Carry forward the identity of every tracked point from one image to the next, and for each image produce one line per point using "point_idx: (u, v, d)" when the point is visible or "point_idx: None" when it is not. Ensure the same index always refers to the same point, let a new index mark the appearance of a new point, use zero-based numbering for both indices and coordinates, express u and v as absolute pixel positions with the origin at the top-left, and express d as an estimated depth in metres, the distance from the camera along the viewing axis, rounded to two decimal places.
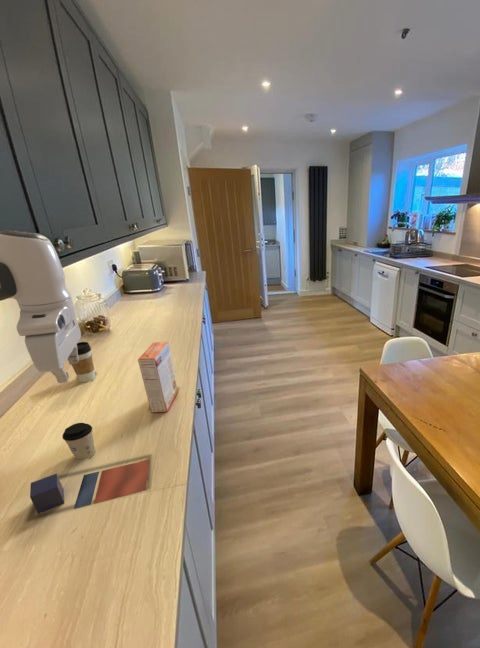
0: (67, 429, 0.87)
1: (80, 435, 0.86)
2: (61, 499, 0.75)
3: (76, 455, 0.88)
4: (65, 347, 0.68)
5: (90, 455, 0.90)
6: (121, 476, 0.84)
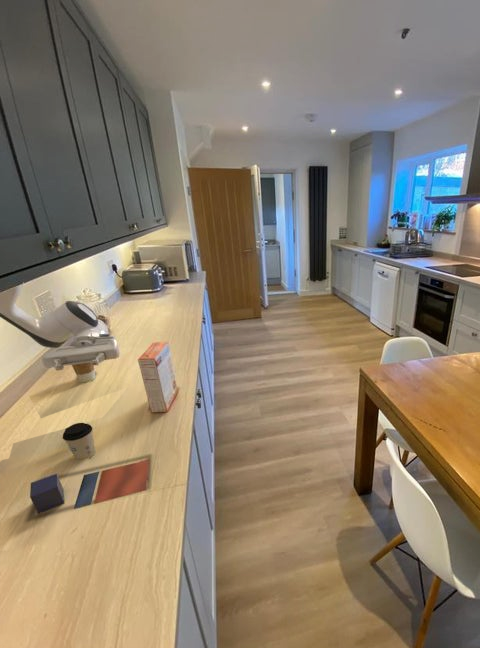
0: (67, 429, 0.87)
1: (80, 435, 0.86)
2: (61, 499, 0.75)
3: (76, 455, 0.88)
4: None
5: (90, 455, 0.90)
6: (121, 476, 0.84)
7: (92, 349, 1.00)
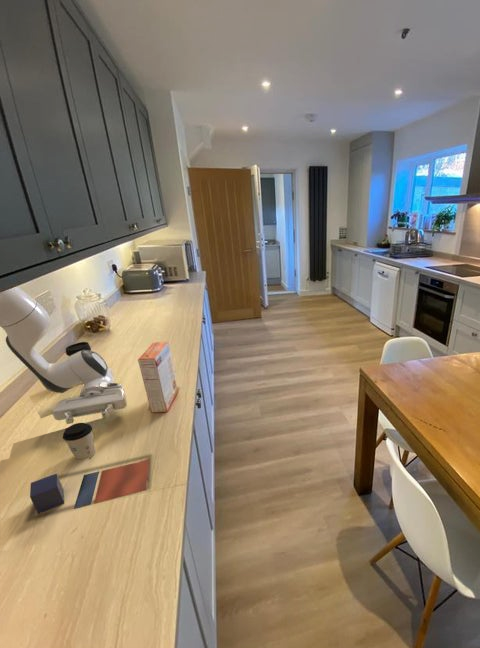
0: (67, 429, 0.87)
1: (80, 435, 0.86)
2: (61, 499, 0.75)
3: (76, 455, 0.88)
4: None
5: (90, 455, 0.90)
6: (121, 476, 0.84)
7: (101, 400, 1.03)
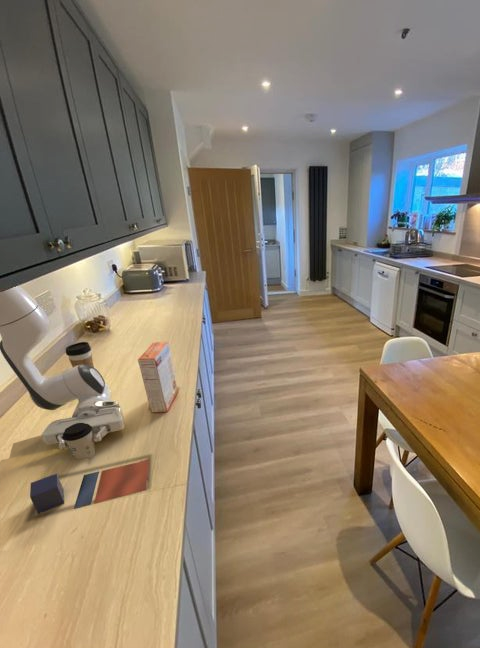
0: (67, 429, 0.87)
1: (80, 435, 0.86)
2: (61, 499, 0.75)
3: (76, 455, 0.88)
4: None
5: (90, 455, 0.90)
6: (121, 476, 0.84)
7: (96, 422, 0.94)
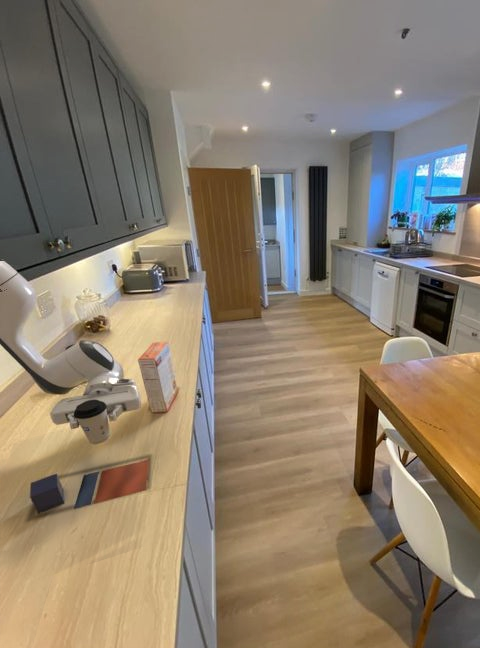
0: (79, 406, 0.77)
1: (94, 413, 0.76)
2: (61, 499, 0.75)
3: (89, 436, 0.78)
4: None
5: (104, 436, 0.80)
6: (121, 476, 0.84)
7: (110, 400, 0.84)
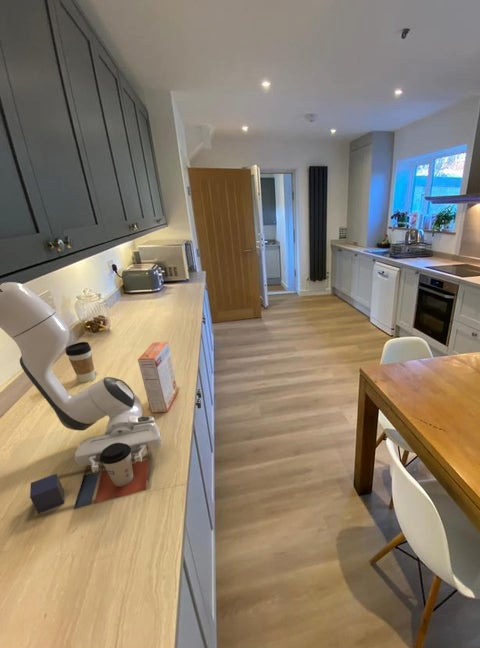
0: (105, 450, 0.79)
1: (120, 457, 0.78)
2: (61, 499, 0.75)
3: (114, 479, 0.80)
4: None
5: (128, 478, 0.82)
6: None
7: (132, 440, 0.86)
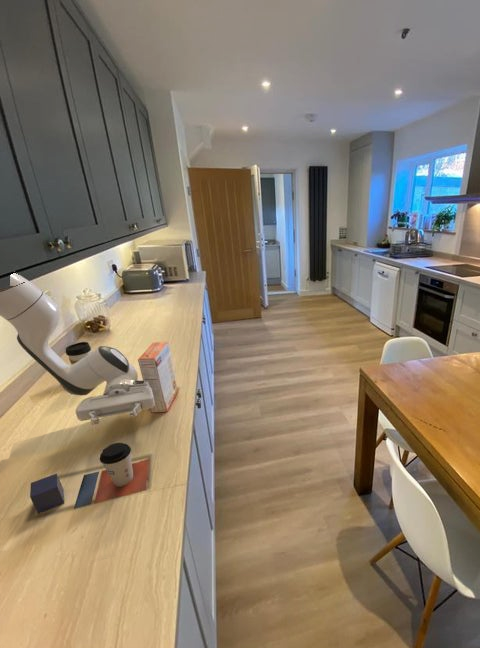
0: (104, 450, 0.79)
1: (120, 457, 0.78)
2: (61, 499, 0.75)
3: (114, 479, 0.80)
4: None
5: (128, 478, 0.82)
6: None
7: (128, 399, 0.95)
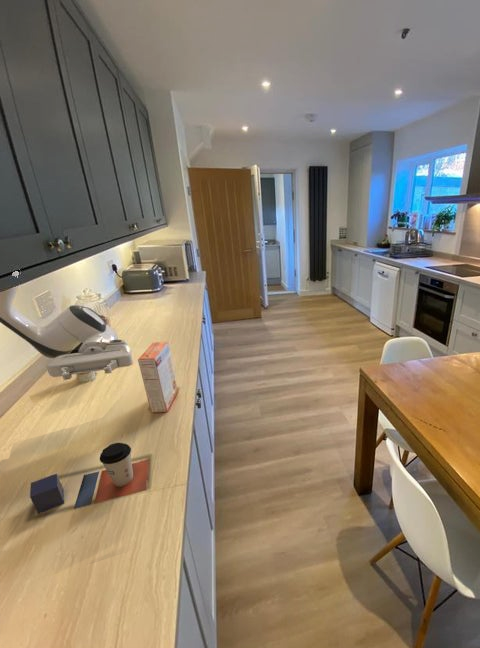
0: (104, 450, 0.79)
1: (120, 457, 0.78)
2: (61, 499, 0.75)
3: (114, 479, 0.80)
4: None
5: (128, 478, 0.82)
6: None
7: (103, 356, 0.90)
